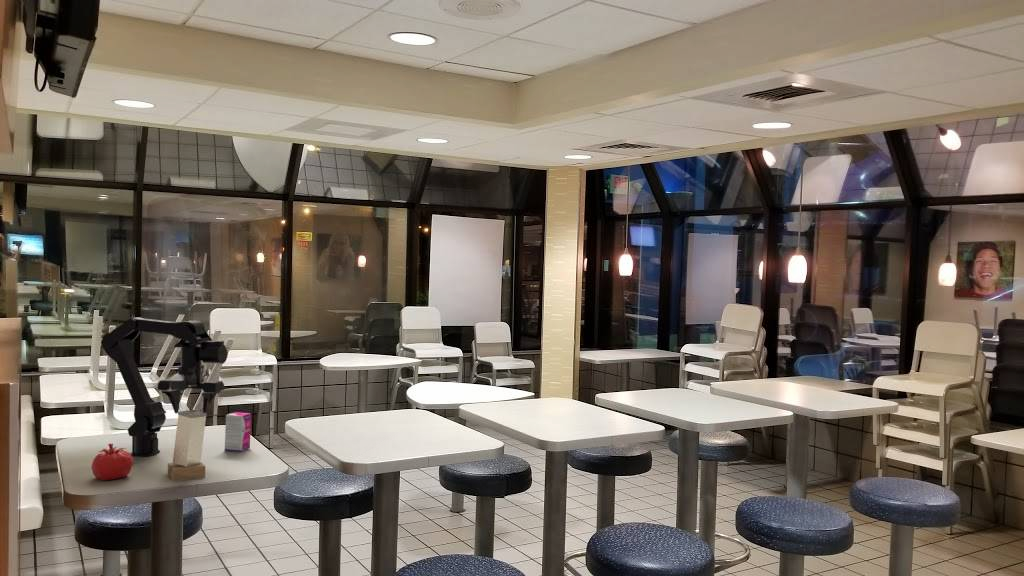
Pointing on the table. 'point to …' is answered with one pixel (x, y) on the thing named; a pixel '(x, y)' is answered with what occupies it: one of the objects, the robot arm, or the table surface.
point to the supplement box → (237, 431)
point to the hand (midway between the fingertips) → (190, 413)
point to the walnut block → (185, 471)
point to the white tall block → (189, 437)
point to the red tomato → (112, 464)
